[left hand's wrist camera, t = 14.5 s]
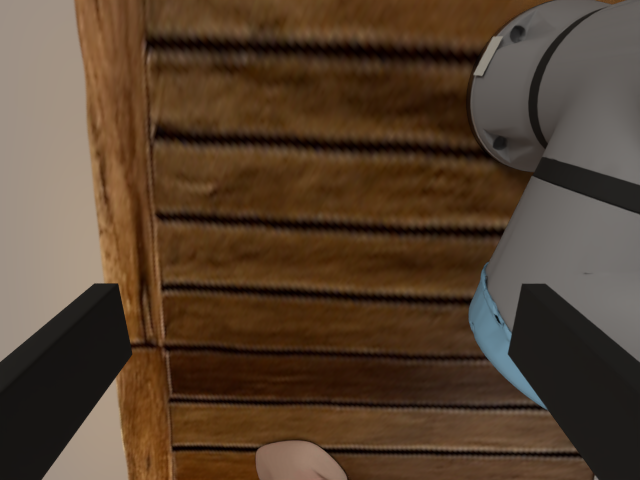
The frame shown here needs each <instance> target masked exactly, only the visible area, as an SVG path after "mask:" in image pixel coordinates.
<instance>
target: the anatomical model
mask: <svg viewBox="0 0 640 480" xmlns="http://www.w3.org/2000/svg"><path fill="white" fill-rule="evenodd" d="M256 468H257V472H258V476H259V478H260V480H347V477H346V474H345V473H344V471H343V470H342V468H341V467H340V466H339V465H338V463H337V462H336V461H335V460H334V459H333V458H332V457H331V456H330V455H329V454H328V453H326V452H325V451H324V450H323V449H321V448H320V447H319V446H317V445H315V444H313V443H310V442H307V441H299V440H292V441H282V442H276V443H271V444H268V445H264V446H262V447H260V448H259V449H258V450H257V452H256Z"/></svg>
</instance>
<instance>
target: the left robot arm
mask: <svg viewBox="0 0 640 480" xmlns="http://www.w3.org/2000/svg"><path fill="white" fill-rule="evenodd" d="M466 106H467V116H468V121H469V124H470V127H471V130H472V133H473V135H474V137H475V139H476V140H477V142H478V143H479V145H480V146H481V147H482V149H483V150H484V151H485V152H486V153H487V154H488V155H490V156H491V157H492V158H494V159H495V160H497V161H498V162H500V163H502V164H505V165H507V166H510V167H512V168H515V169H519V170H522V171H529V172H534V174H533V176H532V177H531V179H530V181H529V183H528V185H527V187H526V189H525V191H524V193H523V195H522V197H521V199H520V201H519V203H518V205H517V207H516V209H515V211H514V213H513V215H512V217H511V219H510V221H509V223H508V225H507V227H506V229H505V231H504V233H503V235H502V237H501V239H500V241H499V243H498V245H497V248H496V250H495V252H494V253H493V255H492V257H491V259H490V261H489V262H487V263H486V264H485V266H484V268H483V270H482V273H481V280H480V283H479V285H478V288H477V290H476V292H475V295H474V297H473V299H472V302H471V304H470V308H469V323H470V326H471V329H472V331H473V333H474V337H475V340H476V342H477V344H478V345H479V347H480V349H481V350H482V352H483V353H484V354H485V356H486V357H487V358H488V360H489V361H490V362H491V363H492V364H493V366H494V367H495V368H496V369H497V370H498V371H499V372H500V373H501V374H502V375H503V376H504V377H505V378H506V379H507V380H508V381H509V382H510V383H512V384H513V385H514V386H515V387H516V388H517V389H518V390H520V391H521V392H522V393H523V394H525V395H526V396H527V397H529V398H530V399H531V400H533V401H534V402H536V403H537V404H539V405H540V406H542V407H543V408H545V409H547V410H548V411H549V412H550V413H551V415H552V416H553V418H554V419H555V420H556V422H557V423H558V425H559V426H560V427H561V429H562V430H563V431H564V433H565V434H566V436H567V437H568V438H569V440H570V441H571V442H572V444H573V445H574V447H575V448H576V449H577V451H578V452H579V454H580V455H581V456H582V458H583V459H584V460H585V462H586V463H587V465H588V466H589V467H590V469H591V470H592V471H593V473H594V474H595V476H596V477H597V478H598V480H640V0H626V1H623V2H620V3H617V4H614V5H611V4H607V3H603V2H599V1H595V0H553V1H549V2H546V3H543V4H540V5H538V6H535V7H533V8H530V9H528V10H526V11H524V12H522V13H520V14H519V15H517V16H515V17H514V18H512V19H511V20H510V21H508V22H507V23H506V24H504V25H503V26H502V27H501V28H500V29H499V30H498V31H497V32H496V33H495V34H494V35H493V36H492V37H491V39H490V40H489V41H488V42H487V44H486V45H485V47H484V48H483V50H482V51H481V53H480V55H479V56H478V58H477V60H476V63H475V65H474V67H473V70H472V73H471V76H470V79H469V83H468V89H467V99H466ZM131 356H132V350H131V345H130V340H129V335H128V330H127V325H126V320H125V315H124V310H123V305H122V300H121V296H120V291H119V286H118V284H93V285H92V286H91V287H90V288H89V289H87V290H86V291H85V292H84V293H83V294H81V295H80V296H79V297H78V298H77V299H75V300H74V301H73V302H72V303H71V304H69V305H68V306H67V307H66V308H65V309H63V310H62V311H61V312H60V313H59V314H57V315H56V316H55V317H54V318H53V319H51V320H50V321H49V322H48V323H47V324H45V325H44V326H43V327H42V328H41V329H39V330H38V331H37V332H36V333H35V334H33V335H32V336H31V337H30V338H29V339H27V340H26V341H25V342H24V343H23V344H21V345H20V346H19V347H18V348H17V349H15V350H14V351H13V352H12V353H11V354H9V355H8V356H7V357H6V358H5V359H3V360H2V361H1V362H0V480H42V478H43V477H44V476H45V474H46V473H47V471H48V470H49V469H50V467H51V466H52V465H53V463H54V462H55V460H56V459H57V458H58V456H59V455H60V454H61V452H62V451H63V449H64V448H65V447H66V445H67V444H68V442H69V441H70V440H71V438H72V437H73V436H74V434H75V433H76V431H77V430H78V429H79V427H80V426H81V425H82V423H83V422H84V420H85V419H86V418H87V416H88V415H89V413H90V412H91V411H92V409H93V408H94V407H95V405H96V404H97V402H98V401H99V400H100V398H101V397H102V396H103V394H104V393H105V391H106V390H107V389H108V387H109V386H110V384H111V383H112V382H113V380H114V379H115V378H116V376H117V375H118V373H119V372H120V371H121V369H122V368H123V367H124V365H125V364H126V362H127V361H128V360H129V358H130V357H131Z"/></svg>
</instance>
